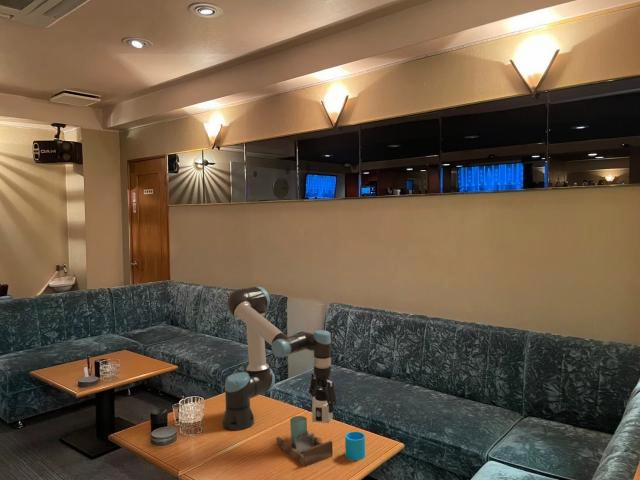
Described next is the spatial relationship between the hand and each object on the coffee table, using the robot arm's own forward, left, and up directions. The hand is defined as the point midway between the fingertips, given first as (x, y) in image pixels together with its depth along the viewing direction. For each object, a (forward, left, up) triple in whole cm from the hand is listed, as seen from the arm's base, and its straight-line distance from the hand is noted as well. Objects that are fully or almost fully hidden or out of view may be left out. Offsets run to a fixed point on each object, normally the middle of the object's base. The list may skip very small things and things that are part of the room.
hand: (322, 414), depth 205 cm
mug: (+20, +3, -11) cm, 23 cm away
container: (0, 0, -2) cm, 2 cm away
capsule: (+1, -13, -11) cm, 17 cm away
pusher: (+5, -13, -10) cm, 17 cm away
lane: (+4, -13, -11) cm, 17 cm away
